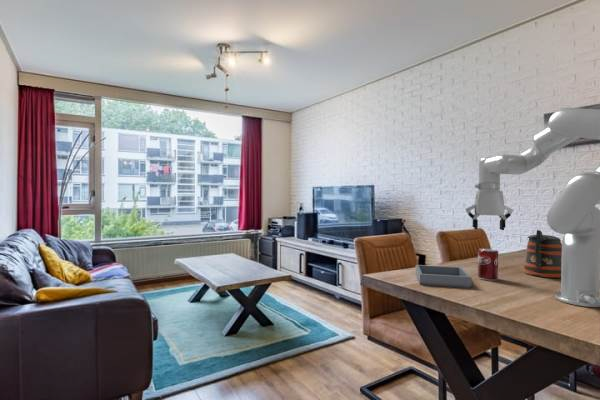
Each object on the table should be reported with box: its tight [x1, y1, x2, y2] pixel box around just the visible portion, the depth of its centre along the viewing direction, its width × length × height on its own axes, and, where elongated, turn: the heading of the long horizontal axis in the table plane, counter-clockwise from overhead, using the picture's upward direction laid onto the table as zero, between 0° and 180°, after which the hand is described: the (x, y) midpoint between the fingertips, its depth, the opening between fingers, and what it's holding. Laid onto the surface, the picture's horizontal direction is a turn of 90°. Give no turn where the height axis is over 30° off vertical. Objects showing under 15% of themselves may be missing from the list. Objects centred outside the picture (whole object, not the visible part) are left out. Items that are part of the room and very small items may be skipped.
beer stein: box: [523, 229, 562, 279], centre depth 144 cm, size 19×15×20 cm
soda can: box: [477, 247, 499, 282], centre depth 137 cm, size 7×7×12 cm
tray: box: [415, 264, 473, 289], centre depth 134 cm, size 18×18×4 cm
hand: (488, 229), depth 137 cm, fingers open, 9 cm apart
